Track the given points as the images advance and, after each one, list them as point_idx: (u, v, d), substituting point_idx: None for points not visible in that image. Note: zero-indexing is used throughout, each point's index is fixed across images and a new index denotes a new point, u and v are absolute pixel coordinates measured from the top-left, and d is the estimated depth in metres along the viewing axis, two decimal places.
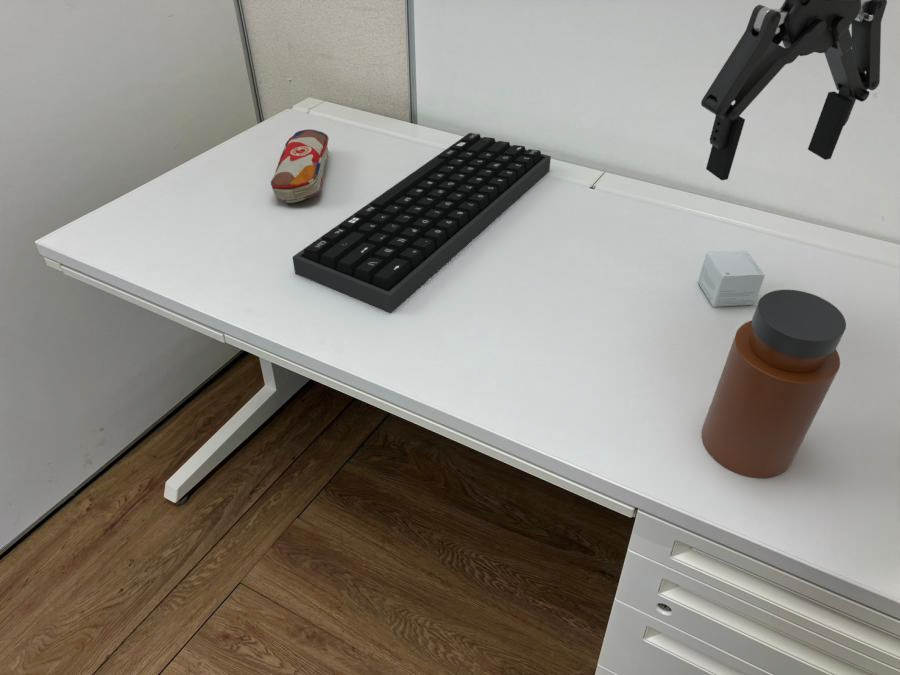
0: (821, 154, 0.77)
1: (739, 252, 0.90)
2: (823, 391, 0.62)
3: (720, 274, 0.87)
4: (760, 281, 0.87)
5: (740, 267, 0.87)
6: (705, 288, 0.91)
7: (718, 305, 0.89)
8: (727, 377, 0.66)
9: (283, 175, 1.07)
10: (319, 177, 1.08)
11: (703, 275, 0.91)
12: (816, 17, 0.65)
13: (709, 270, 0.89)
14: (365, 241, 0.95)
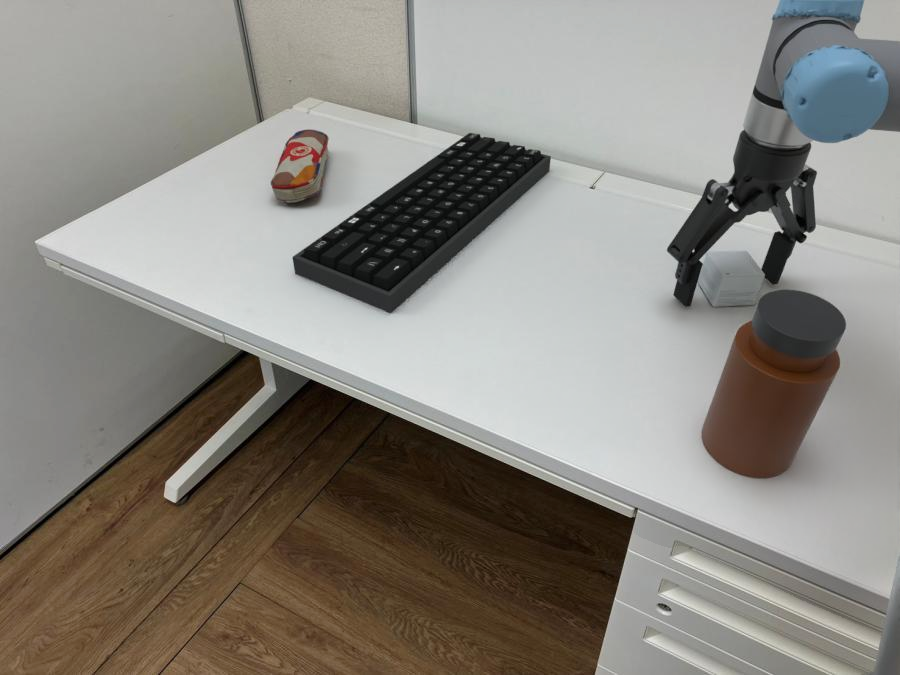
0: (770, 280, 0.92)
1: (739, 252, 0.90)
2: (823, 391, 0.62)
3: (720, 275, 0.87)
4: (760, 281, 0.87)
5: (740, 267, 0.87)
6: (705, 288, 0.91)
7: (718, 305, 0.89)
8: (727, 377, 0.66)
9: (283, 175, 1.07)
10: (319, 177, 1.08)
11: (703, 275, 0.91)
12: (758, 189, 0.80)
13: (709, 270, 0.89)
14: (365, 241, 0.95)
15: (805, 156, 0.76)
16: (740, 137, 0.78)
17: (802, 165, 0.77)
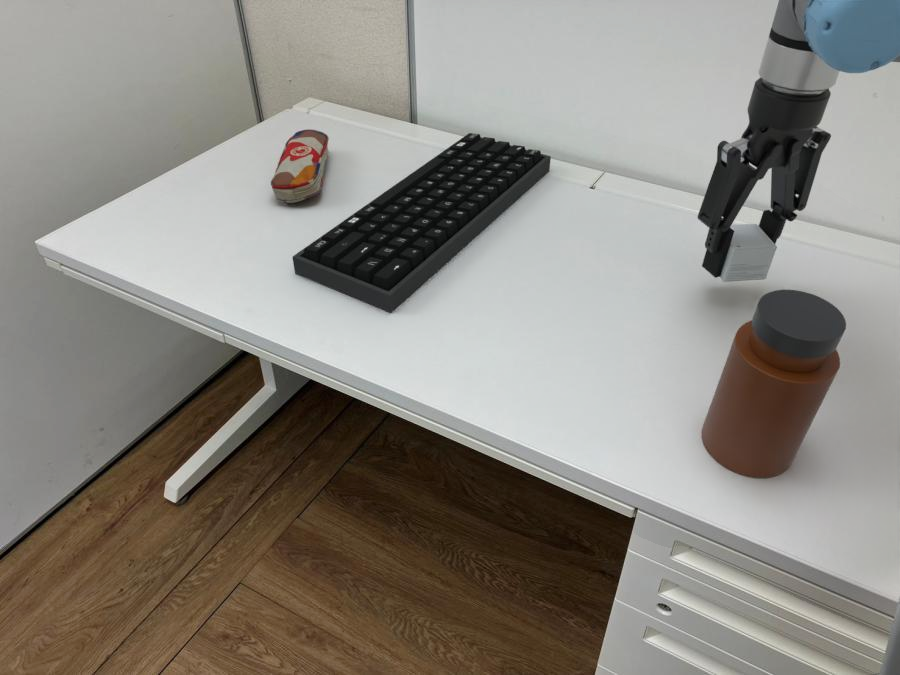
0: None
1: (749, 225, 0.87)
2: (823, 391, 0.62)
3: (731, 247, 0.83)
4: (772, 254, 0.84)
5: (751, 239, 0.84)
6: None
7: (729, 280, 0.86)
8: (727, 377, 0.66)
9: (283, 175, 1.07)
10: (319, 177, 1.08)
11: None
12: (772, 142, 0.76)
13: None
14: (365, 241, 0.95)
15: (825, 103, 0.72)
16: (755, 85, 0.74)
17: (821, 113, 0.73)
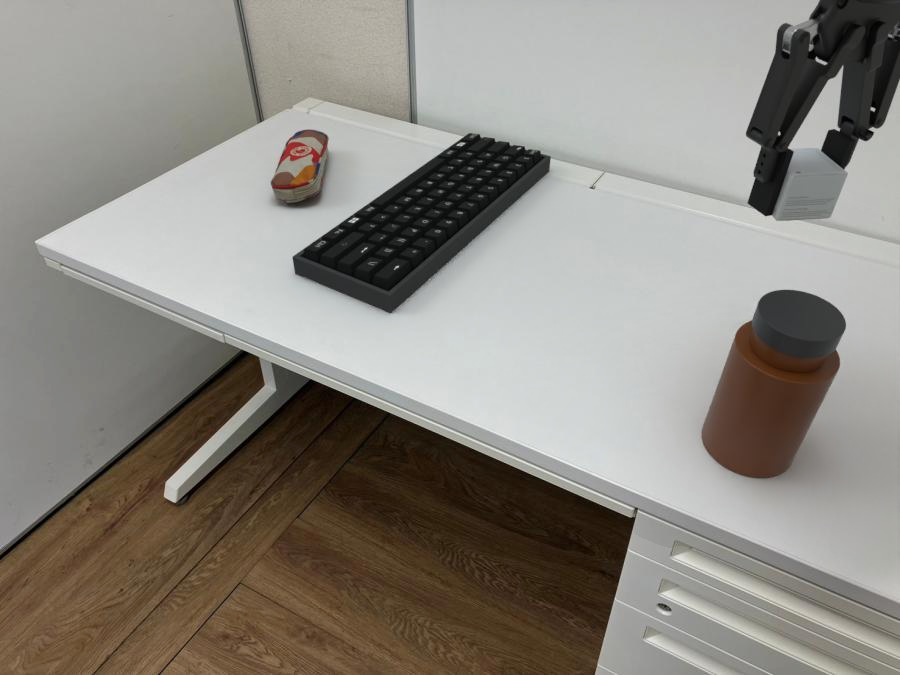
0: None
1: (808, 149, 0.68)
2: (823, 391, 0.62)
3: (788, 174, 0.64)
4: (841, 183, 0.65)
5: (813, 165, 0.65)
6: None
7: (784, 219, 0.67)
8: (727, 377, 0.66)
9: (283, 175, 1.07)
10: (319, 177, 1.08)
11: None
12: (851, 23, 0.57)
13: None
14: (365, 241, 0.95)
15: None
16: None
17: None
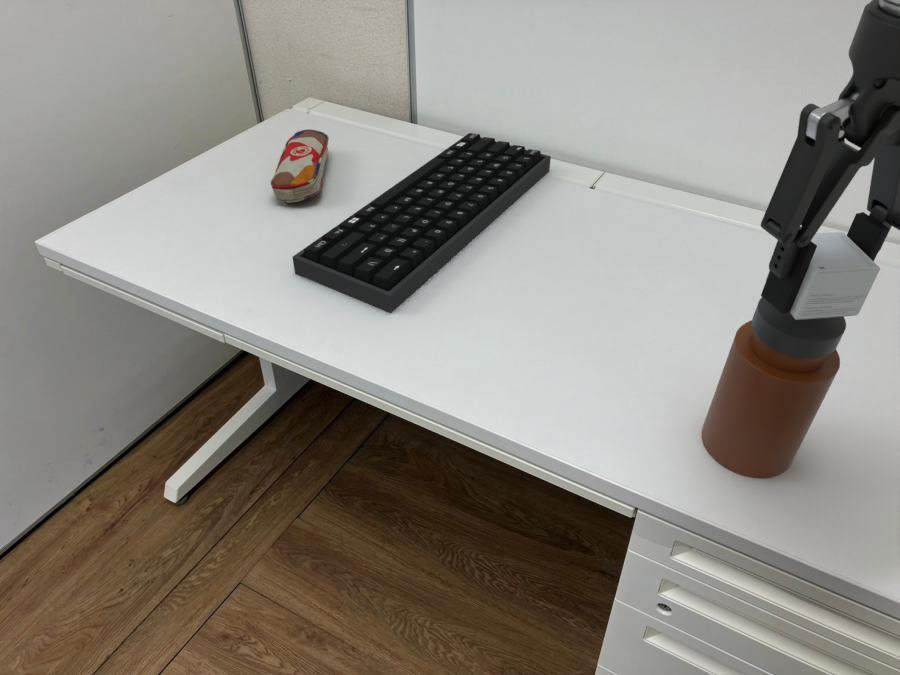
0: None
1: (832, 234, 0.58)
2: (823, 391, 0.62)
3: (810, 270, 0.55)
4: (871, 279, 0.55)
5: (839, 257, 0.56)
6: None
7: (804, 317, 0.57)
8: (727, 377, 0.66)
9: (283, 175, 1.07)
10: (319, 177, 1.08)
11: None
12: (889, 105, 0.47)
13: None
14: (365, 241, 0.95)
15: None
16: (866, 12, 0.46)
17: None
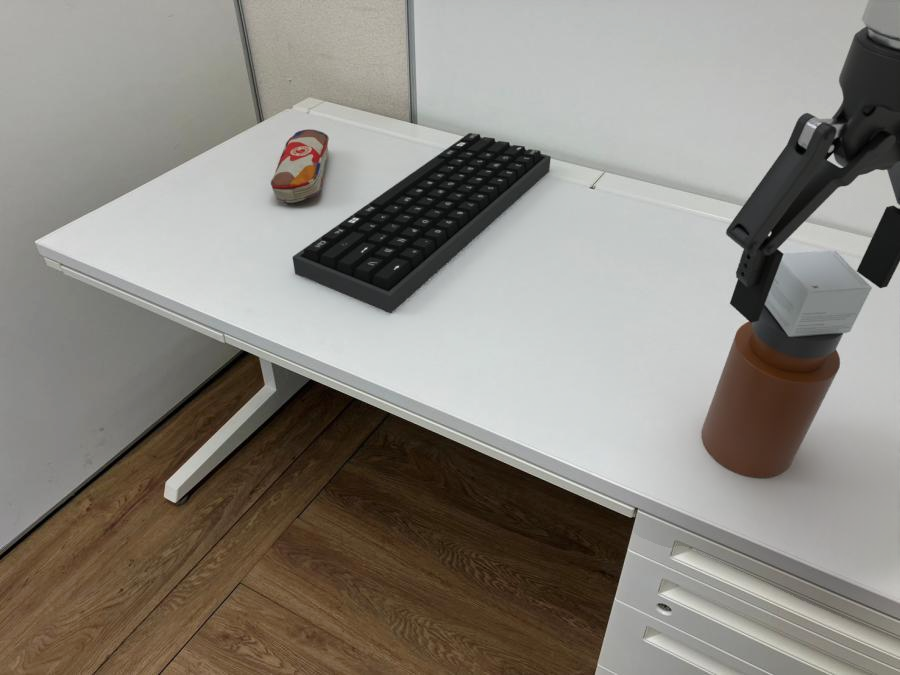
0: (875, 281, 0.61)
1: (825, 253, 0.60)
2: (823, 391, 0.62)
3: (804, 288, 0.56)
4: (863, 298, 0.57)
5: (832, 276, 0.57)
6: (774, 308, 0.60)
7: (797, 334, 0.58)
8: (727, 377, 0.66)
9: (283, 175, 1.07)
10: (319, 177, 1.08)
11: None
12: (882, 129, 0.48)
13: (782, 281, 0.59)
14: (365, 241, 0.95)
15: None
16: (856, 41, 0.47)
17: None
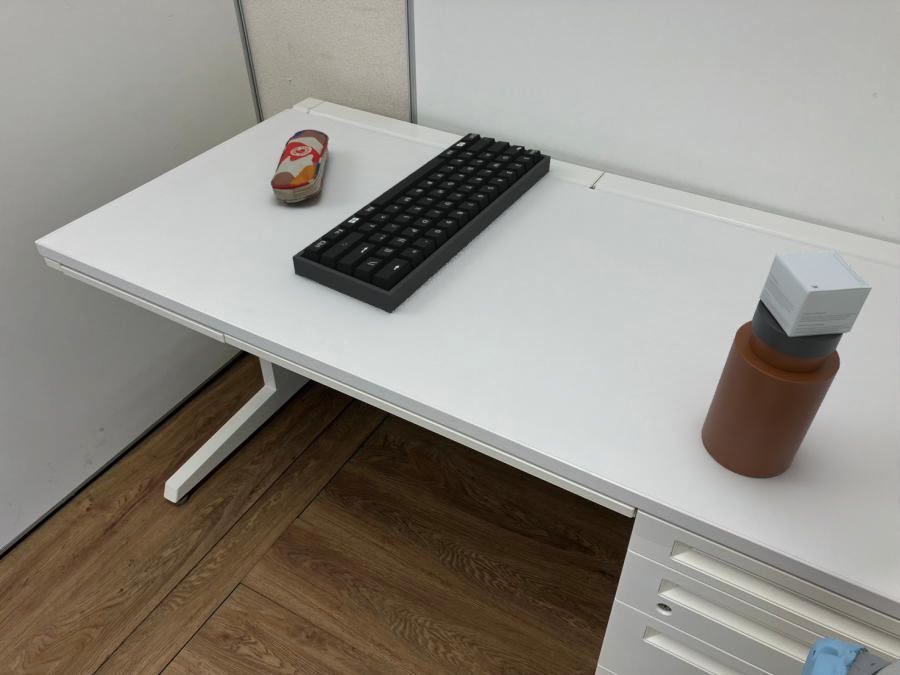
0: None
1: (825, 253, 0.60)
2: (823, 391, 0.62)
3: (804, 288, 0.56)
4: (863, 298, 0.57)
5: (832, 276, 0.57)
6: (774, 308, 0.60)
7: (797, 334, 0.58)
8: (727, 377, 0.66)
9: (283, 175, 1.07)
10: (319, 177, 1.08)
11: (770, 288, 0.60)
12: None
13: (782, 281, 0.59)
14: (365, 241, 0.95)
15: None
16: None
17: None
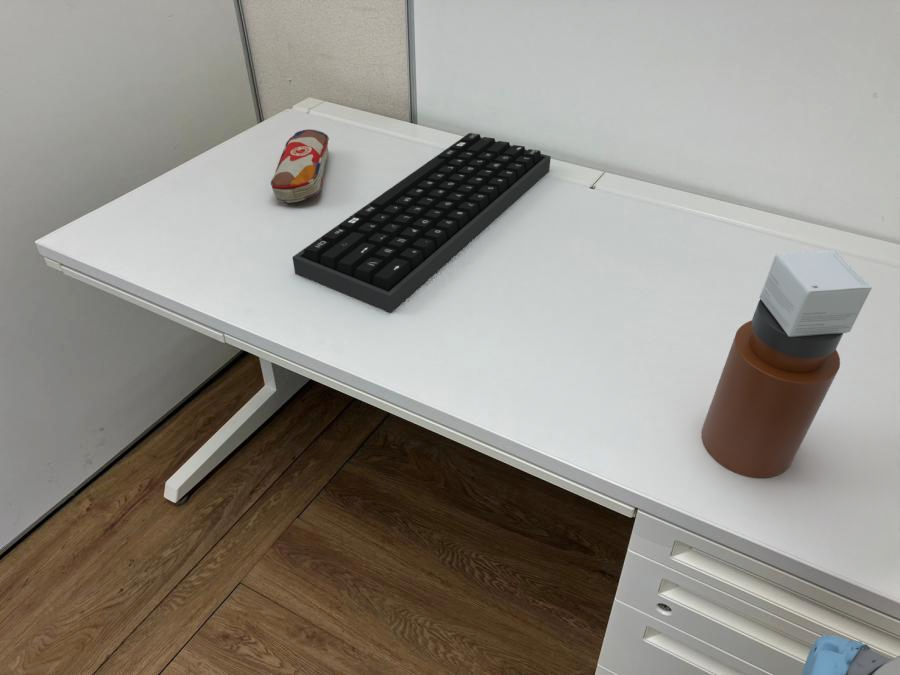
0: None
1: (825, 253, 0.60)
2: (823, 391, 0.62)
3: (804, 288, 0.56)
4: (863, 298, 0.57)
5: (832, 276, 0.57)
6: (774, 308, 0.60)
7: (797, 334, 0.58)
8: (727, 377, 0.66)
9: (283, 175, 1.07)
10: (319, 177, 1.08)
11: (770, 288, 0.60)
12: None
13: (782, 281, 0.59)
14: (365, 241, 0.95)
15: None
16: None
17: None
